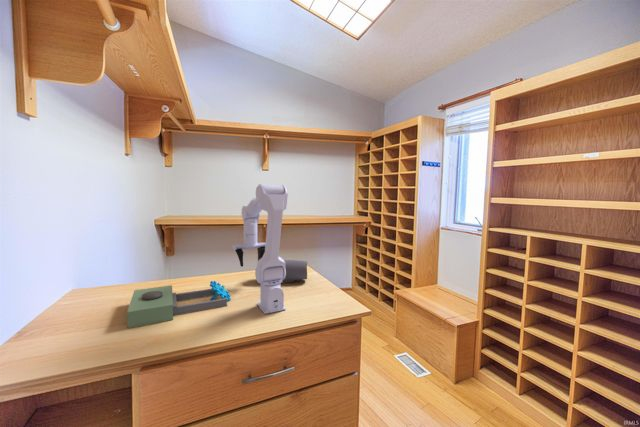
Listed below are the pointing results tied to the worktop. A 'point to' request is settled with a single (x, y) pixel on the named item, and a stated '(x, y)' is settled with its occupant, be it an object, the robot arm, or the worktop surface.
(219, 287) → the gear
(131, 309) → the green block with rails
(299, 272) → the bluetooth speaker
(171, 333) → the worktop surface
